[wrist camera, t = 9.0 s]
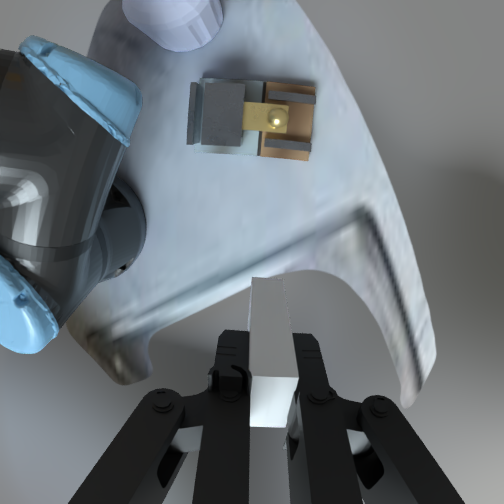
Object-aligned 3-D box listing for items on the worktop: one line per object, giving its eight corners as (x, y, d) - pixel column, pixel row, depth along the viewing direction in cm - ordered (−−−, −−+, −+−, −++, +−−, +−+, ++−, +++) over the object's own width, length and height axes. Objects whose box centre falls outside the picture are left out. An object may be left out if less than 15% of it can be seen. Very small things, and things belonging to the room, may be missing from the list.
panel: (196, 151, 36) (194, 152, 35) (201, 79, 32) (199, 78, 31) (306, 160, 36) (308, 161, 35) (313, 88, 33) (315, 87, 31)
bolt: (221, 128, 33) (215, 128, 28) (223, 102, 32) (218, 98, 27) (283, 133, 33) (288, 133, 28) (285, 107, 32) (291, 104, 27)
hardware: (194, 142, 34) (186, 144, 30) (198, 87, 32) (190, 82, 27) (309, 151, 34) (316, 154, 30) (314, 96, 32) (322, 92, 28)
